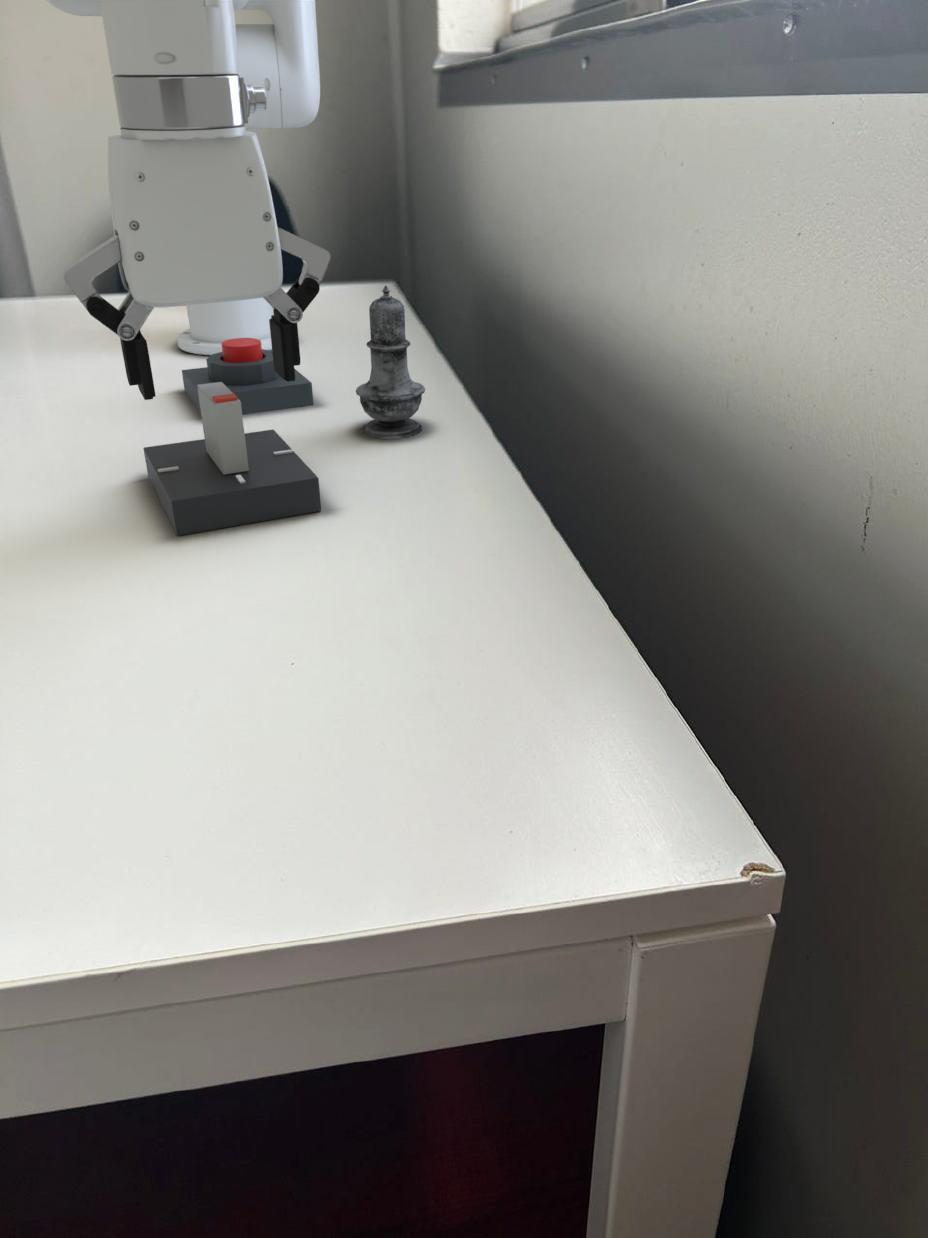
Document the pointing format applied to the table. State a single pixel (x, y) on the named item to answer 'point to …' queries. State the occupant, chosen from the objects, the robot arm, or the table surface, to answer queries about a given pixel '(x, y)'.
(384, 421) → the salt shaker
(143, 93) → the robot arm
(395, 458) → the table surface
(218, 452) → the timer knob
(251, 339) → the stop button
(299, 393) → the stop housing
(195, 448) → the dark grey base block
